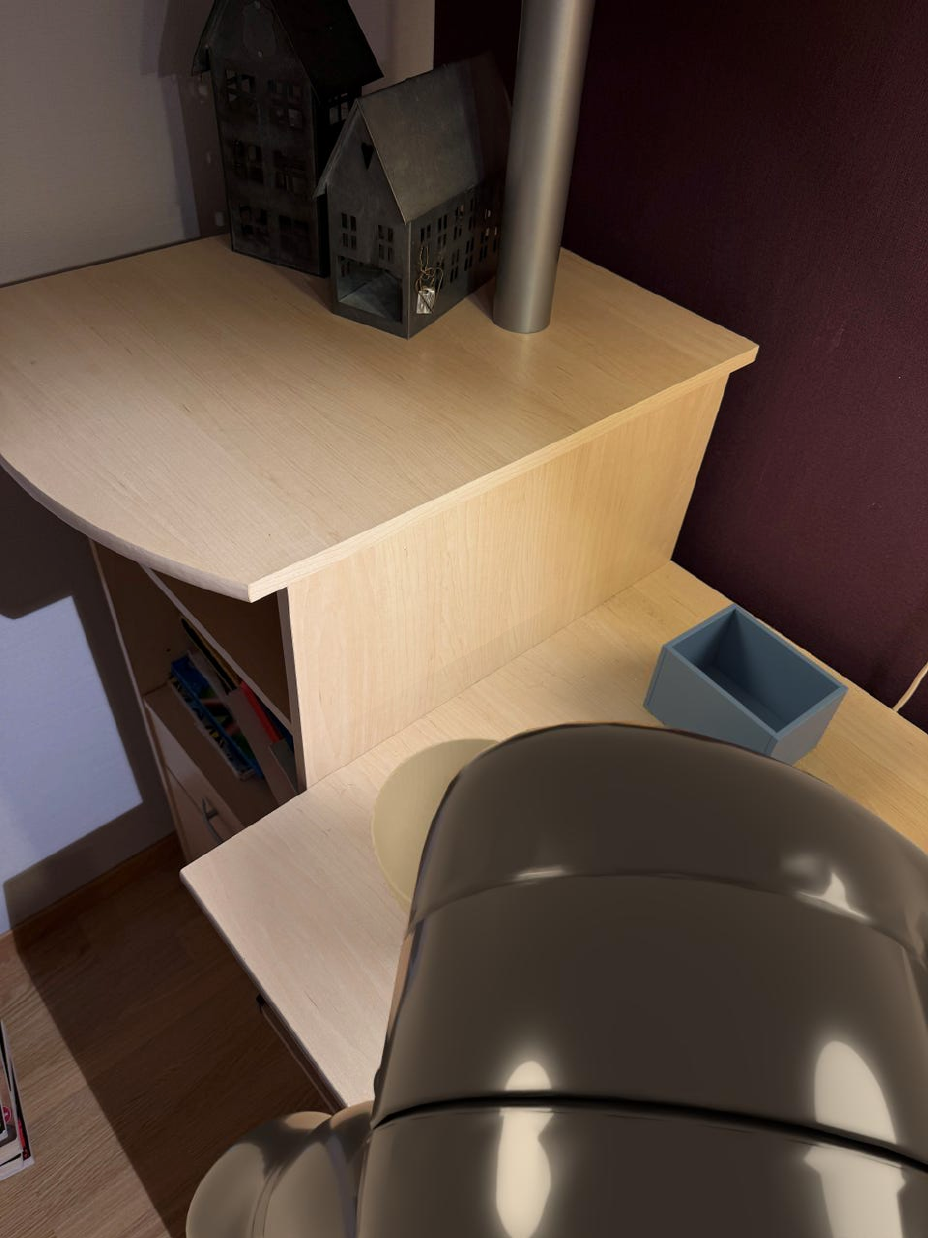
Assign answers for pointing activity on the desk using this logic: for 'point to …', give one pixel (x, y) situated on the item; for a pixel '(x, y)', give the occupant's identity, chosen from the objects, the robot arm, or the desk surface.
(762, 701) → the blue open storage bin
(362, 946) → the desk surface
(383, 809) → the bowl
